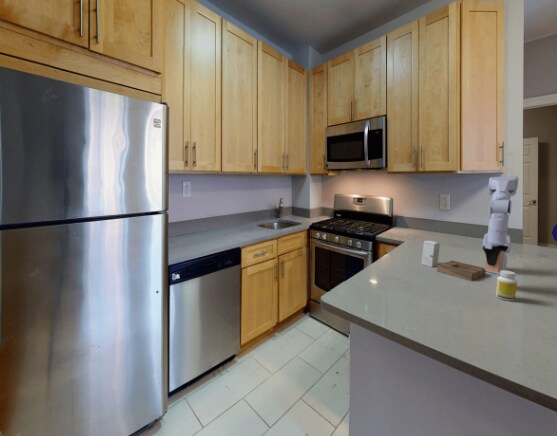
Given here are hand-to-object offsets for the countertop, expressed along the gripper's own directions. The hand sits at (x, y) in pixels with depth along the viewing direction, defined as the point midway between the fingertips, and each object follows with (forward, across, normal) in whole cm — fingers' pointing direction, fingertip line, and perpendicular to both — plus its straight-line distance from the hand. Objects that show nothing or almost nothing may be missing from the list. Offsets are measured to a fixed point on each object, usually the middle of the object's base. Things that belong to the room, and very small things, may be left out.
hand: (493, 263), depth 102 cm
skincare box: (+10, +7, +28) cm, 30 cm away
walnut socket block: (+9, +7, +14) cm, 18 cm away
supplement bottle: (+10, -9, -7) cm, 15 cm away
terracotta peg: (+2, 0, 0) cm, 2 cm away
